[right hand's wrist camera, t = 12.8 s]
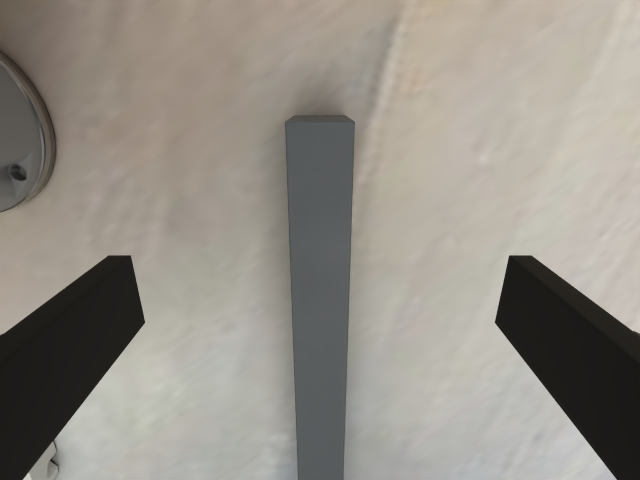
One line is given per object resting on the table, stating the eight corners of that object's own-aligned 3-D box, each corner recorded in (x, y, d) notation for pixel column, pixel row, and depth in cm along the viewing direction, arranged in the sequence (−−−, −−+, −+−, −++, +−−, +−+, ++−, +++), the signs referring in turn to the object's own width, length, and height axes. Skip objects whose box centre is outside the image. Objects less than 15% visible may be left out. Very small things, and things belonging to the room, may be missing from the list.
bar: (293, 115, 31) (285, 121, 23) (346, 115, 31) (354, 121, 23) (305, 550, 53) (303, 625, 46) (335, 550, 53) (338, 625, 46)
